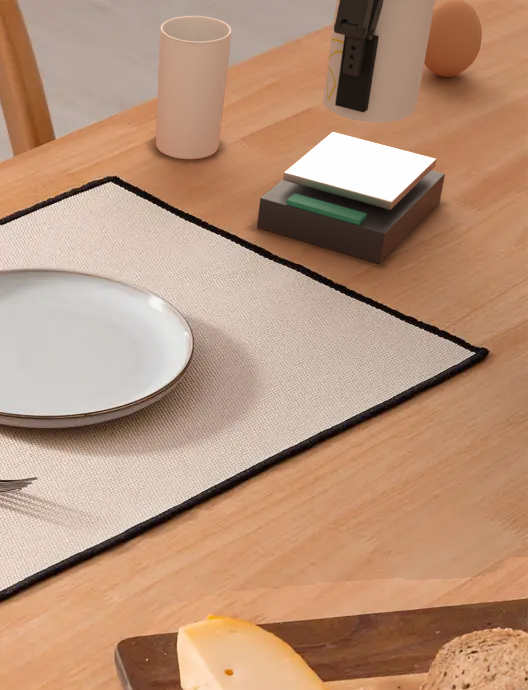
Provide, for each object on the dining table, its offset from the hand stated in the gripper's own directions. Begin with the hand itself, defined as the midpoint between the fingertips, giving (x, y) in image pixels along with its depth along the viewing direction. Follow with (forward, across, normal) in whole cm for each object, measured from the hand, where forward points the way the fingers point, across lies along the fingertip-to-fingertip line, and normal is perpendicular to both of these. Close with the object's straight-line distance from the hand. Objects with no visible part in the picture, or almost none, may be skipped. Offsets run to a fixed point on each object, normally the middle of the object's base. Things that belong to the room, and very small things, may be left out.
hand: (372, 89), depth 137 cm
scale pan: (+9, 0, 0) cm, 9 cm away
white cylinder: (+1, 0, 0) cm, 1 cm away
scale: (+12, +1, 0) cm, 12 cm away
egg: (+12, -35, -5) cm, 37 cm away
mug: (+12, -5, -20) cm, 24 cm away
